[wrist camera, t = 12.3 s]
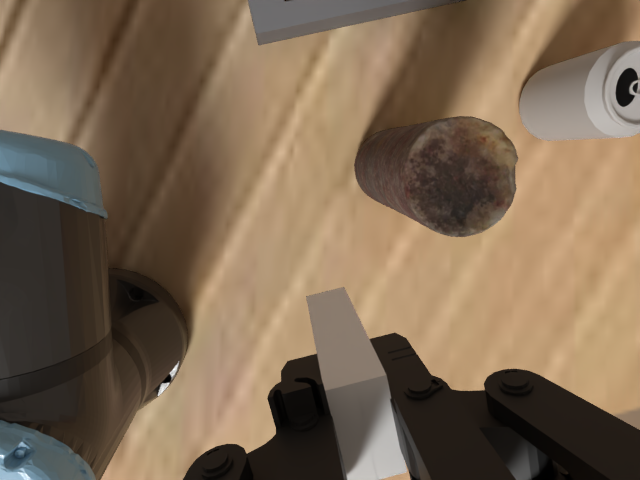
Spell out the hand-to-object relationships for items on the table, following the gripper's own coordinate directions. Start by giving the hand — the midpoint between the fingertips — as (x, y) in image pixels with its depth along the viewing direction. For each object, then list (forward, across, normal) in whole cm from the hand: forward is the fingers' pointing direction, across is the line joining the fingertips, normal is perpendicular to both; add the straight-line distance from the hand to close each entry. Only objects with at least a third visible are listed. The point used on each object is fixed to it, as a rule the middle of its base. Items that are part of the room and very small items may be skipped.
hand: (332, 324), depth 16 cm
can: (+29, +28, +5) cm, 41 cm away
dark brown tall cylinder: (+29, +10, +3) cm, 30 cm away
